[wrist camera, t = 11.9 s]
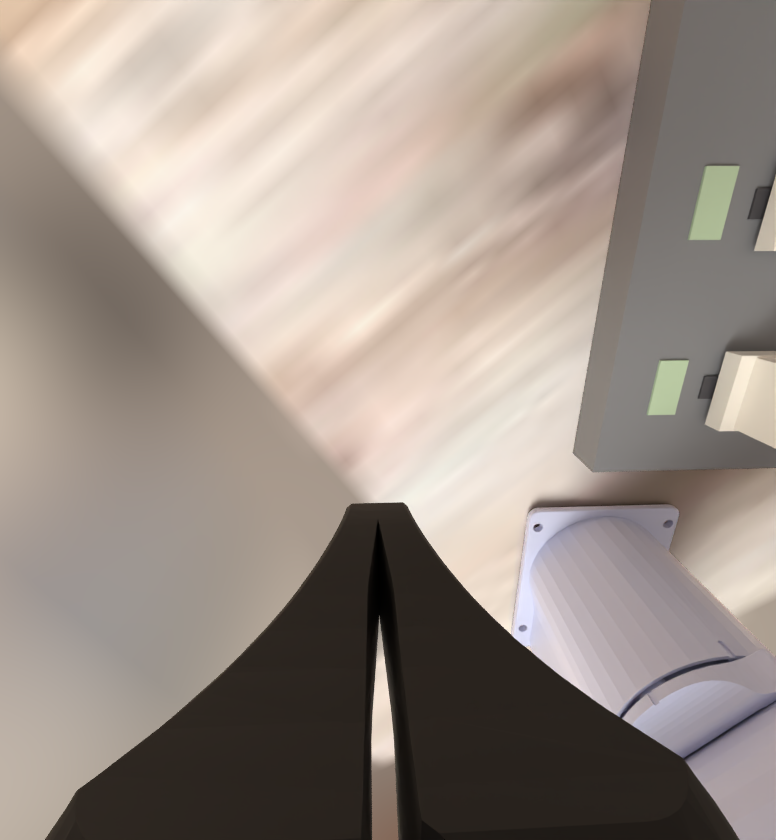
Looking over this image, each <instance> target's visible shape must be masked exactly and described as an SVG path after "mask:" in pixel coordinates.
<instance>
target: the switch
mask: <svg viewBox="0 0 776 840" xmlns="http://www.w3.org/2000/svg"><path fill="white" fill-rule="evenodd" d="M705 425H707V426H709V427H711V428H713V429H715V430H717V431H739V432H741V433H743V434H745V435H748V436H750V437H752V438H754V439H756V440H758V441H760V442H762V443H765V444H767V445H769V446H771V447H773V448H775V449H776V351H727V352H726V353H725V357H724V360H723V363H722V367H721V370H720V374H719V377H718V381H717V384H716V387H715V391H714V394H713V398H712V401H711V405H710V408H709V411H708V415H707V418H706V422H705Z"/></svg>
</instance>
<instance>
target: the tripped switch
mask: <svg viewBox="0 0 776 840" xmlns="http://www.w3.org/2000/svg"><path fill="white" fill-rule="evenodd" d="M754 251H776V177H775V180H774V183H773V187H772V190H771V194H770V197H769V201H768V204H767V208H766V211H765V214H764V218H763V221H762V225H761V228H760V232H759V235H758V239H757V242H756V245H755V249H754Z"/></svg>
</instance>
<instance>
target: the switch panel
mask: <svg viewBox="0 0 776 840" xmlns="http://www.w3.org/2000/svg"><path fill="white" fill-rule="evenodd" d="M775 177H776V0H651V6H650V12H649V17H648V23H647V29H646V35H645V41H644V46H643V52H642V58H641V64H640V69H639V75H638V81H637V87H636V92H635V98H634V104H633V110H632V116H631V121H630V127H629V133H628V139H627V144H626V150H625V156H624V162H623V168H622V173H621V179H620V185H619V191H618V196H617V202H616V208H615V214H614V219H613V225H612V231H611V237H610V243H609V248H608V254H607V260H606V266H605V271H604V277H603V283H602V289H601V295H600V300H599V306H598V312H597V318H596V323H595V329H594V335H593V341H592V346H591V352H590V358H589V364H588V370H587V375H586V381H585V387H584V393H583V398H582V404H581V410H580V416H579V422H578V427H577V433H576V439H575V445H574V450H573V454H574V455H575V456H576V457H577V458H578V459H580V460H581V461H582V462H583V463H584V464H585V465H586V466H587V467H588V468H589V469H590V470H591V471H592V472H623V471H665V470H707V469H749V468H776V449H775V448H773V447H771V446H769V445H767V444H765V443H762V442H760V441H758V440H756V439H754V438H752V437H750V436H748V435H745V434H743V433H741V432H739V431H717V430H715V429H713V428H711V427H709V426H707V425H705V422H706V418H707V415H708V411H709V408H710V405H711V401H712V398H713V394H714V391H715V387H716V384H717V381H718V377H719V374H720V370H721V367H722V363H723V360H724V357H725V353H726V352H727V351H776V251H754V249H755V245H756V242H757V239H758V235H759V232H760V228H761V225H762V221H763V218H764V214H765V211H766V208H767V204H768V201H769V197H770V194H771V190H772V187H773V183H774V180H775Z"/></svg>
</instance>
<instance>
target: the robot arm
mask: <svg viewBox="0 0 776 840" xmlns="http://www.w3.org/2000/svg"><path fill="white" fill-rule="evenodd" d="M678 518H679V510H678V509H677V508H675V507H674V506H673V505H670V504H660V505H622V506H585V507H548V508H534V509H533V510H531V511H530V512H529V513H528V516H527V523H526V530H525V538H524V545H523V552H522V559H521V567H520V574H519V581H518V588H517V596H516V603H515V610H514V617H513V625H512V632H511V634H510V633H509V632H508V631H506V630H505V629H504V628H503V627H502V626H501V625H500V624H499V623H498V622H497V621H496V620H495V619H494V618H493V617H492V616H491V615H490V614H489V613H488V612H487V611H486V610H485V609H484V608H483V607H482V606H481V605H480V604H479V603H478V602H477V601H476V600H475V599H474V598H473V597H472V596H471V595H470V594H469V592H468V591H467V590H466V589H465V588H464V587H463V586H462V584H461V583H460V582H459V581H458V580H457V579H456V577H455V576H454V575H453V574H452V573H451V571H450V570H449V569H448V568H447V566H446V565H445V564H444V563H443V561H442V560H441V559H440V557H439V556H438V554H437V553H436V552H435V550H434V549H433V548H432V546H431V545H430V544H429V542H428V541H427V539H426V538H425V536H424V535H423V533H422V532H421V530H420V528H419V527H418V525H417V523H416V522H415V520H414V518H413V517H412V515H411V513H410V511H409V509H408V507H407V506H406V505H405V504H404V503H403V502H402V503H364V504H351V505H350V506H349V507H347V509H346V512H345V514H344V516H343V519H342V521H341V523H340V525H339V527H338V529H337V531H336V533H335V535H334V537H333V538H332V540H331V541H330V543H329V545H328V546H327V548H326V550H325V551H324V553H323V555H322V556H321V558H320V560H319V561H318V563H317V564H316V566H315V567H314V568H313V570H312V571H311V573H310V574H309V576H308V577H307V578H306V580H305V581H304V582H303V584H302V585H301V587H300V588H299V589H298V591H297V592H296V593H295V595H294V596H293V597H292V599H291V600H290V601H289V602H288V603H287V605H286V606H285V607H284V609H283V610H282V611H281V612H280V613H279V614H278V615H277V616H276V618H275V619H274V620H273V621H272V622H271V623H270V625H269V626H268V627H267V628H266V629H265V630H264V631H263V632H262V633H261V634H260V635H259V636H258V638H257V639H256V640H255V641H254V642H253V643H252V644H251V645H250V646H249V647H248V648H247V649H246V650H245V651H244V652H243V653H242V654H241V655H240V656H239V657H238V658H237V659H236V660H235V661H234V662H233V663H232V664H231V665H230V666H229V667H228V668H227V669H226V670H225V671H224V672H223V673H222V674H220V675H219V676H218V677H217V678H216V679H215V680H214V681H213V682H212V683H211V684H209V685H208V686H207V687H206V688H205V689H204V690H203V691H201V692H200V693H199V694H198V695H197V696H196V697H195V698H194V699H192V700H191V701H190V702H189V703H188V704H187V705H186V706H185V707H183V708H182V709H181V710H180V711H179V712H178V713H177V714H176V715H174V716H173V717H172V718H171V719H170V720H168V721H167V722H166V723H165V724H164V725H162V726H161V727H160V728H159V729H158V730H156V731H155V732H154V733H152V734H151V735H150V736H149V737H147V738H146V739H145V740H143V741H142V742H141V743H139V744H138V745H137V746H135V747H134V748H133V749H131V750H130V751H129V752H128V753H126V754H125V755H124V756H122V757H121V758H120V759H118V760H117V761H116V762H115V763H113V764H112V765H111V766H109V767H108V768H107V769H105V770H104V771H103V772H102V773H100V774H99V775H98V776H96V777H95V778H94V779H92V780H91V781H90V782H88V783H87V784H85V785H84V786H83V787H81V788H80V789H78V790H77V791H76V793H75V795H74V796H73V798H72V800H71V801H70V803H69V805H68V806H67V808H66V809H65V811H64V812H63V814H62V815H61V817H60V818H59V820H58V821H57V823H56V824H55V826H54V827H53V828H52V830H51V831H50V833H49V834H48V836H47V837H46V839H45V840H372V794H371V793H372V788H371V786H372V785H371V784H372V783H371V782H372V781H371V780H372V779H371V734H372V710H373V696H374V682H375V668H376V654H377V640H378V625H379V616H380V624H381V632H382V640H383V648H384V656H385V664H386V672H387V680H388V688H389V696H390V704H391V712H392V722H393V733H394V749H395V771H396V792H397V814H398V837H399V840H776V656H775V655H774V654H773V653H772V652H771V651H770V650H769V649H768V648H767V647H766V646H765V645H764V644H763V643H762V642H761V641H760V640H759V639H758V638H757V637H756V636H754V635H753V634H752V633H751V632H750V631H749V630H748V629H747V628H746V627H745V626H744V625H743V624H742V623H741V622H740V621H739V620H738V619H737V618H736V617H735V616H734V615H733V614H732V613H731V612H730V611H729V610H728V609H727V608H726V607H725V606H724V605H723V604H722V603H721V602H720V601H719V600H718V599H717V598H716V597H715V596H714V595H713V594H712V593H711V592H710V591H709V590H708V589H707V588H706V587H705V586H704V585H703V584H702V583H701V582H700V581H698V580H697V579H696V578H695V577H694V576H693V575H692V574H691V573H690V572H689V571H688V570H687V569H686V568H685V567H684V566H683V565H682V564H681V563H680V562H679V561H678V560H677V559H676V558H675V557H674V556H673V555H672V554H671V553H670V552H669V548H670V545H671V541H672V538H673V535H674V531H675V528H676V524H677V521H678ZM667 520H668V521H667ZM665 521H667V522H666V523H664V522H665ZM536 524H540V525H539V526H538V527H535V528H534V525H536ZM521 625H523V626H521ZM525 646H530V648H531V650H532V652H533V653H532V652H531V651H530V650H528V649H527V648H526V647H525Z"/></svg>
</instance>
